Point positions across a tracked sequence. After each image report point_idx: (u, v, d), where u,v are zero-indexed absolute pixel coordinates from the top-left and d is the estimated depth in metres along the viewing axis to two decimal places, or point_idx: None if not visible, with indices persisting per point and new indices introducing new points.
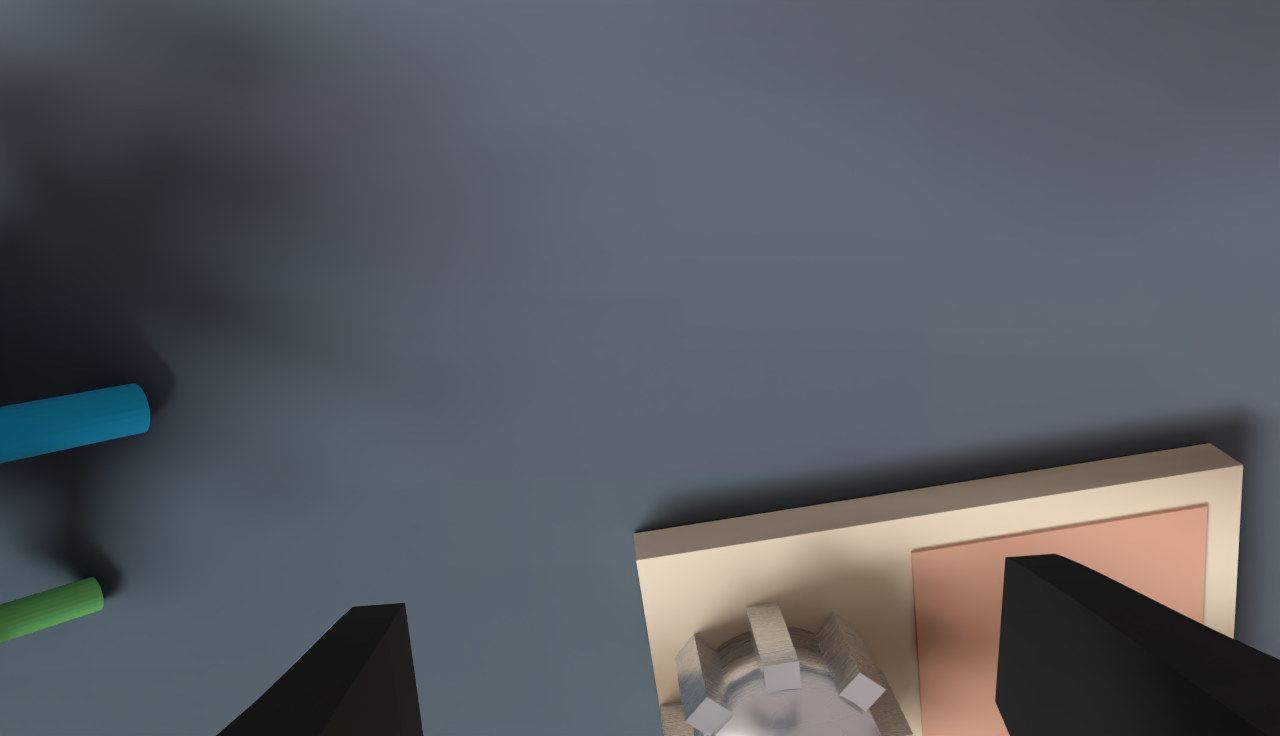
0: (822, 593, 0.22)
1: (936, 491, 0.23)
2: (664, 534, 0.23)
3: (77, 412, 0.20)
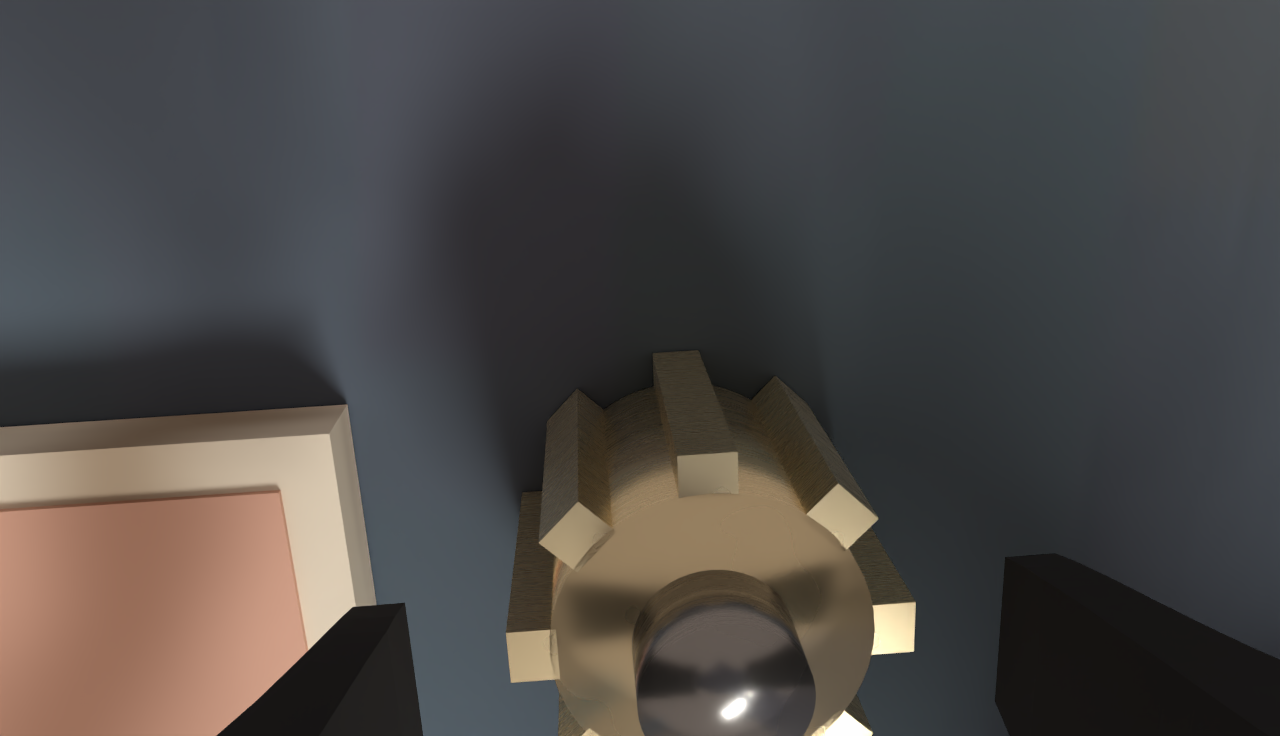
0: None
1: None
2: None
3: None
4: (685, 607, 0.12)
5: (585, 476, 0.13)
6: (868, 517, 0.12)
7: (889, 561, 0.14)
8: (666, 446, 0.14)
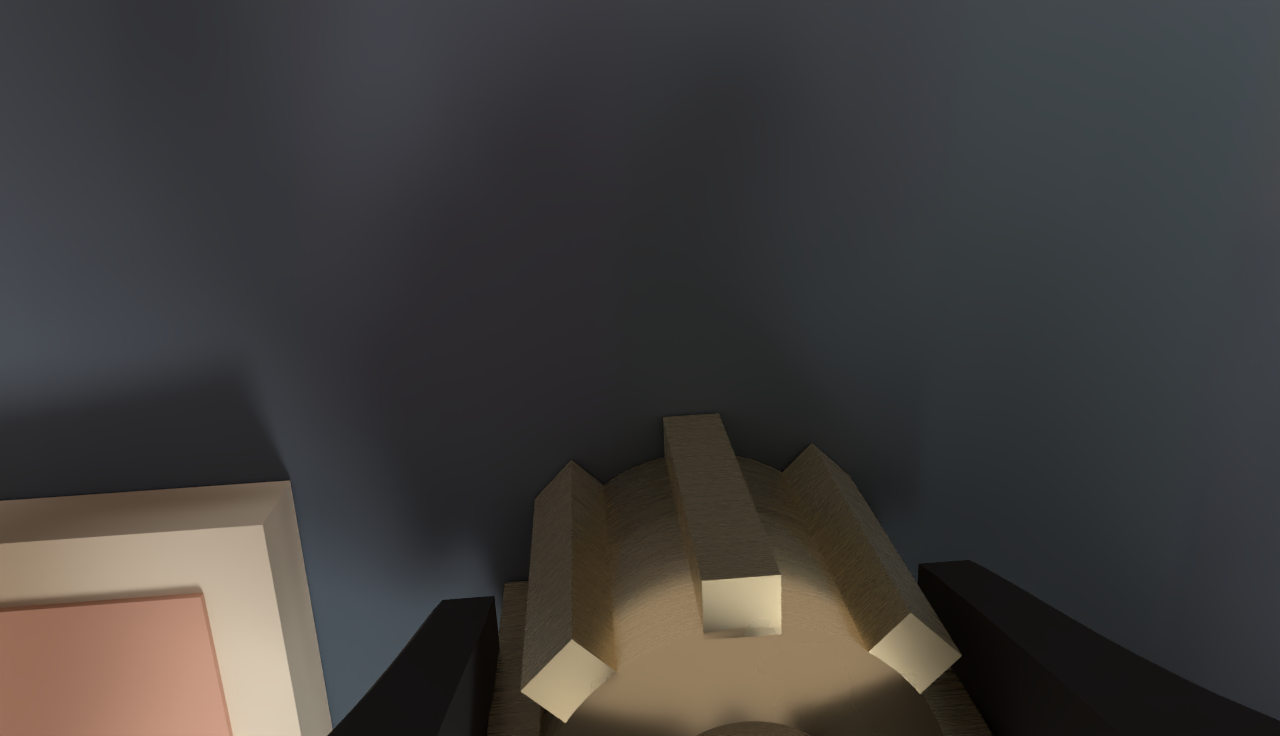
0: None
1: None
2: None
3: None
4: None
5: (581, 595, 0.10)
6: (948, 654, 0.09)
7: (964, 691, 0.11)
8: (683, 548, 0.11)
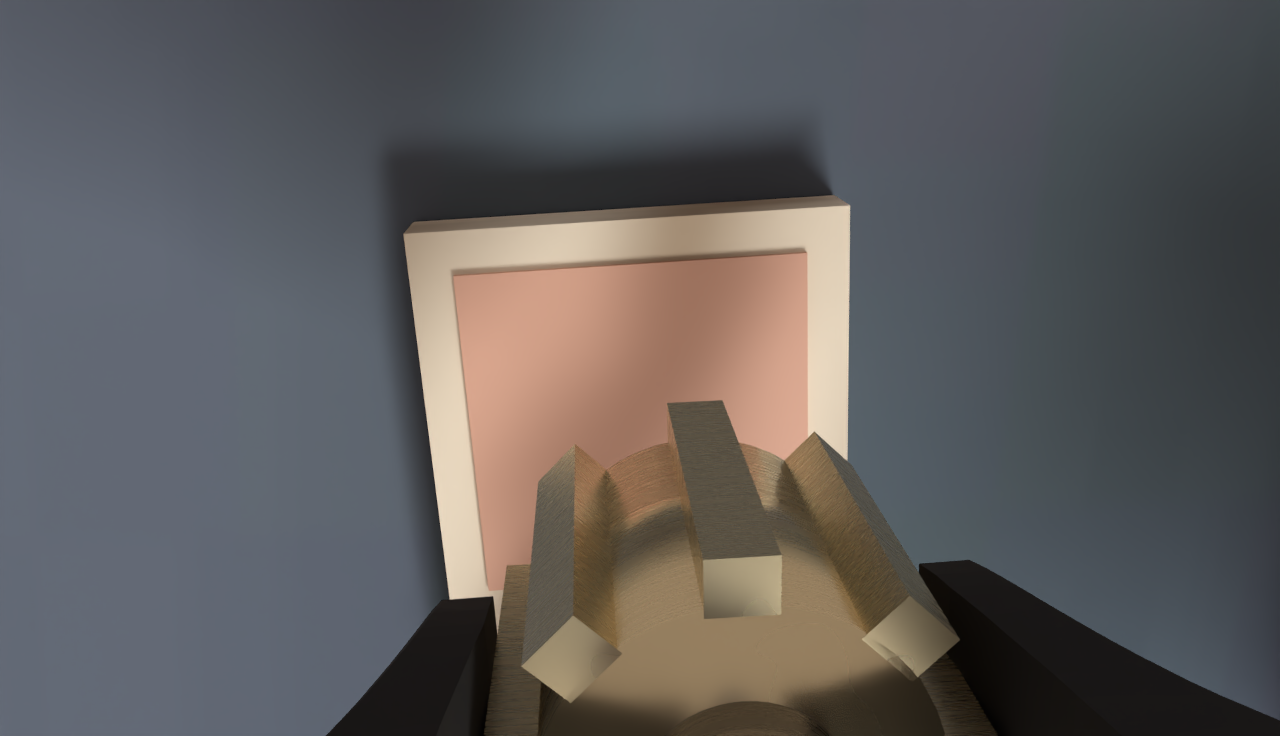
0: None
1: None
2: None
3: None
4: None
5: (583, 573, 0.10)
6: (946, 638, 0.09)
7: (961, 678, 0.11)
8: (685, 530, 0.11)
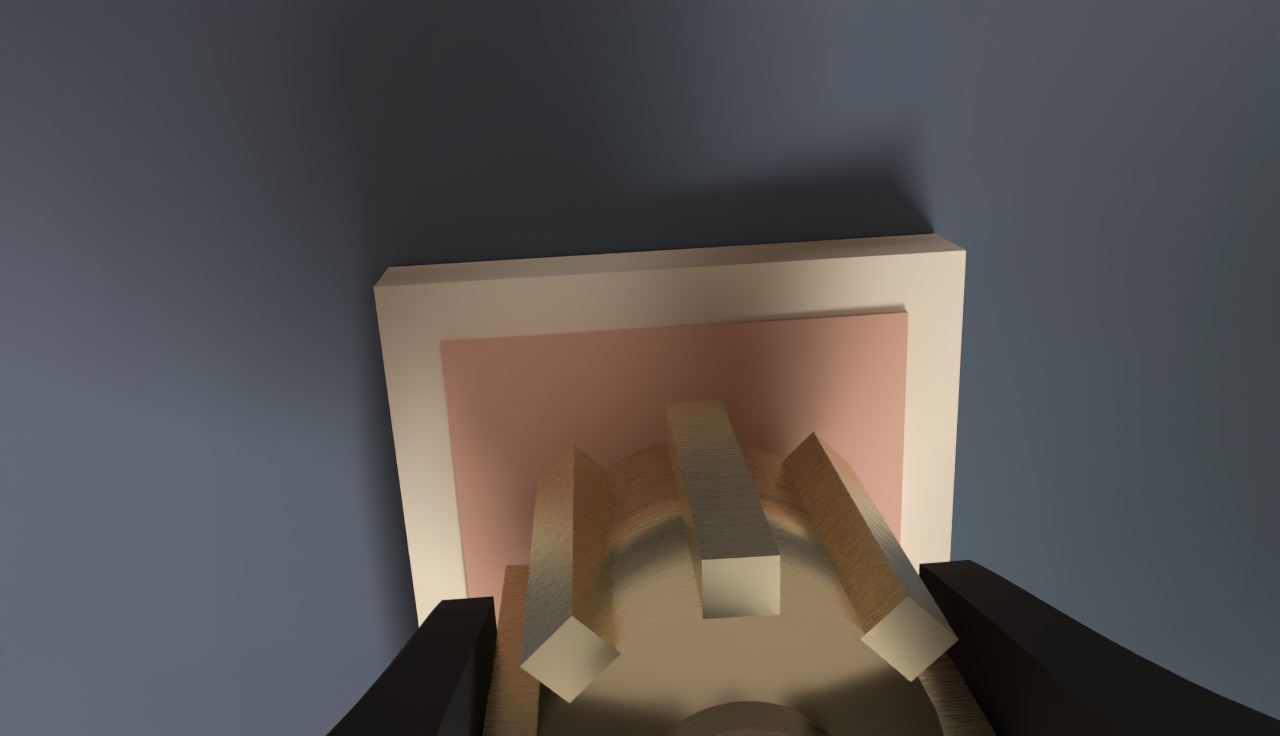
0: None
1: None
2: None
3: None
4: None
5: (582, 574, 0.10)
6: (945, 638, 0.09)
7: (960, 678, 0.11)
8: (684, 530, 0.11)
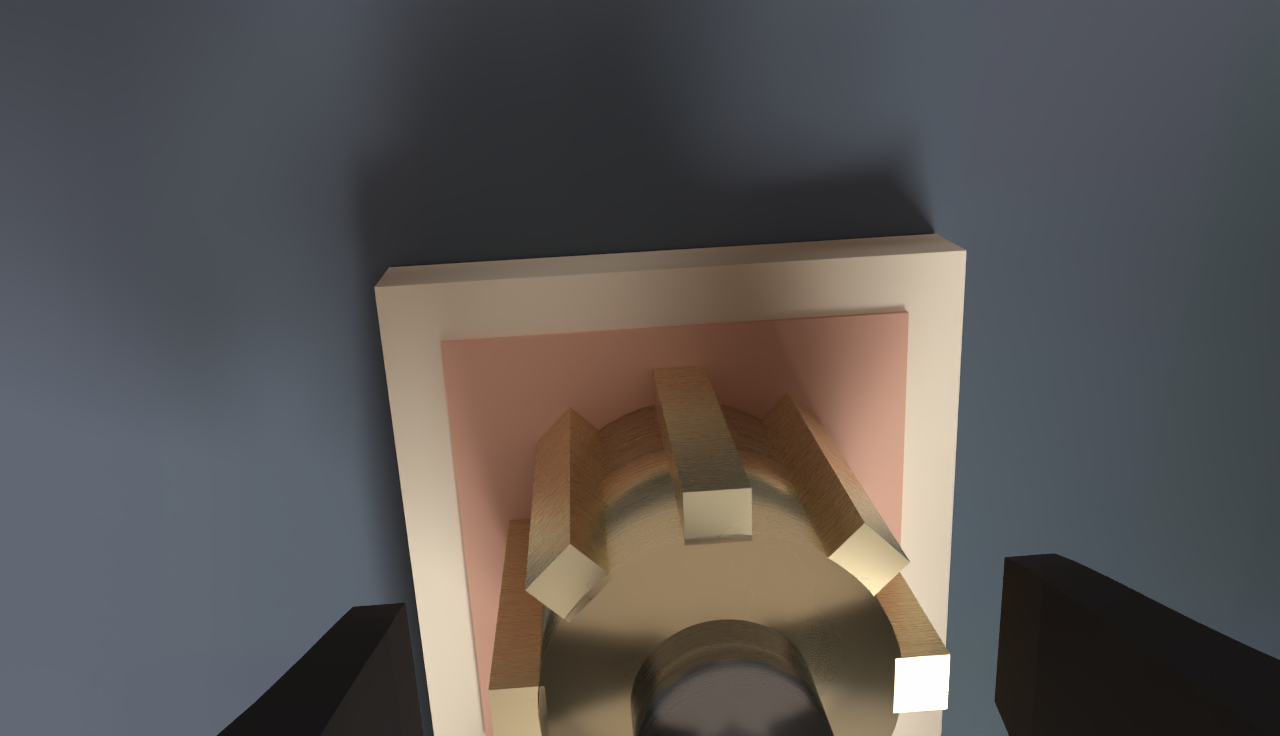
0: None
1: None
2: None
3: None
4: (692, 665, 0.10)
5: (579, 513, 0.11)
6: (898, 560, 0.11)
7: (917, 604, 0.12)
8: (669, 476, 0.12)
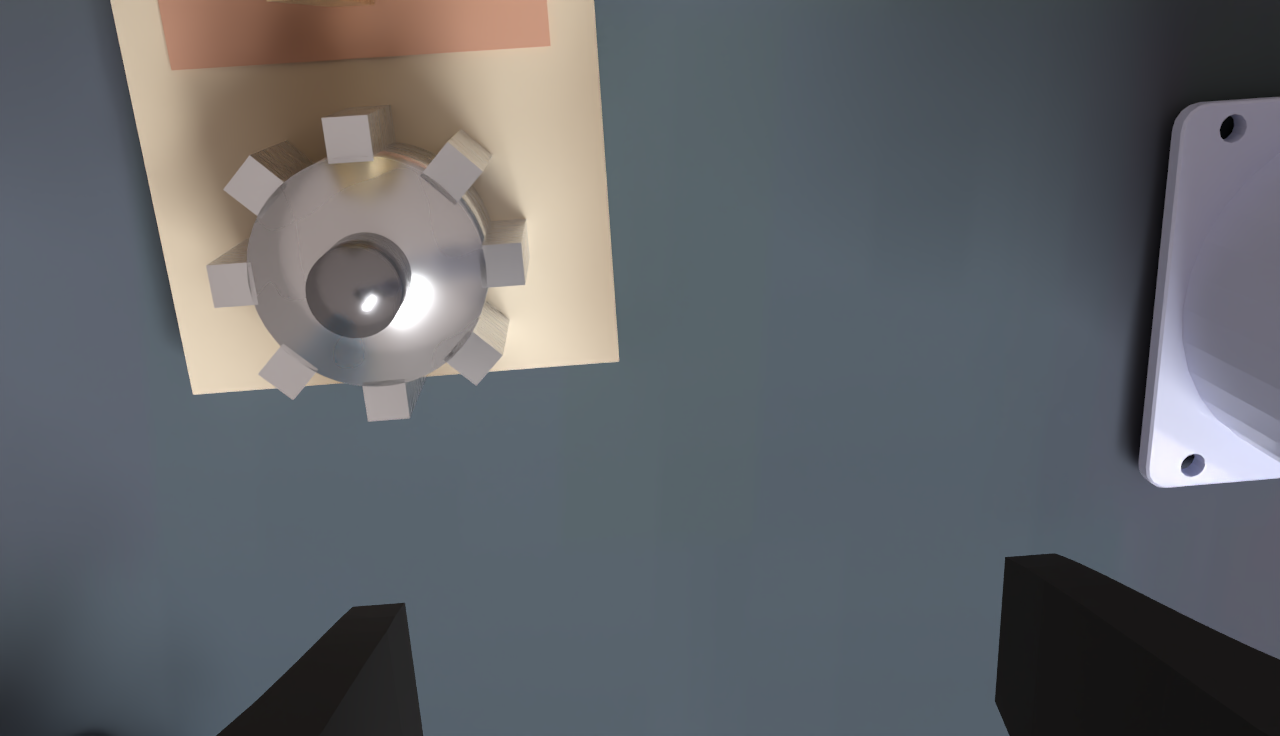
0: None
1: None
2: None
3: None
4: None
5: None
6: None
7: None
8: None
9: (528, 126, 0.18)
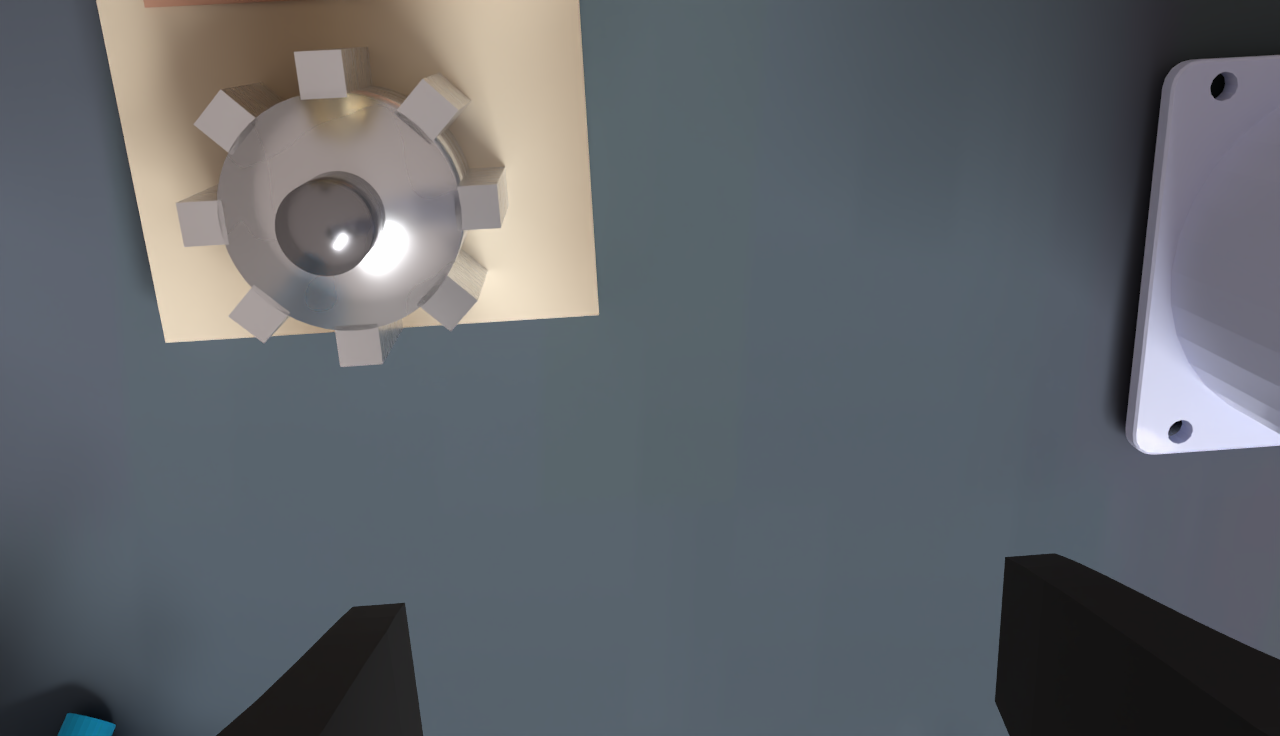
0: None
1: None
2: None
3: None
4: None
5: None
6: None
7: None
8: None
9: (508, 71, 0.18)
